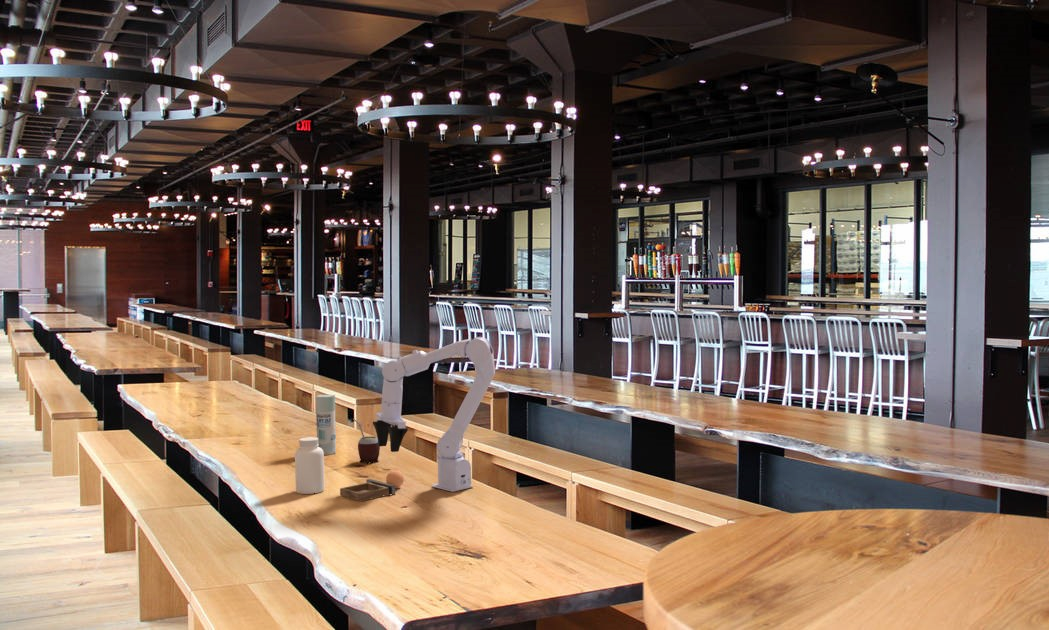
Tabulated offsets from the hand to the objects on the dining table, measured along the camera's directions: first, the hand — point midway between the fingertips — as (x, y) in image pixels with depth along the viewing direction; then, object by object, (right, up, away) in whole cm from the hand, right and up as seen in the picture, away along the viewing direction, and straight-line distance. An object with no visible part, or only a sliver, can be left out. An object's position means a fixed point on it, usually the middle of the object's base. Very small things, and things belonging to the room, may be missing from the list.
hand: (388, 448), depth 250 cm
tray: (-5, -12, -9) cm, 15 cm away
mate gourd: (-12, -10, +35) cm, 38 cm away
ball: (+2, -11, -1) cm, 11 cm away
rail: (-1, -11, -5) cm, 12 cm away
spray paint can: (-29, -10, +50) cm, 59 cm away
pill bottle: (-22, -12, -4) cm, 25 cm away
